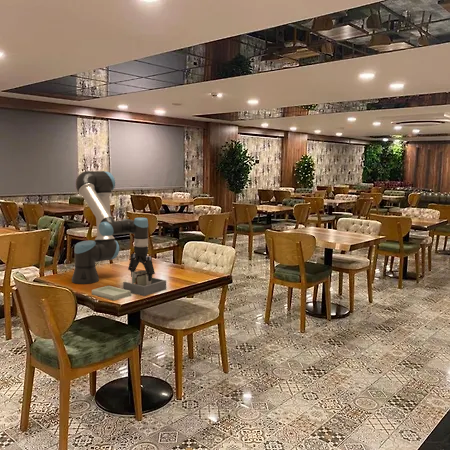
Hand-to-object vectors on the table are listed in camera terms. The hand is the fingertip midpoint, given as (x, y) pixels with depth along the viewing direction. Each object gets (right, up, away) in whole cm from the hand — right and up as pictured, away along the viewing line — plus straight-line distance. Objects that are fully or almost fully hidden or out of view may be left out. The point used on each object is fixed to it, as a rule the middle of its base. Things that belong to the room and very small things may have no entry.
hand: (141, 284), depth 244 cm
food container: (0, -3, 0) cm, 3 cm away
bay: (+2, -3, -1) cm, 4 cm away
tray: (-14, -4, -12) cm, 19 cm away
